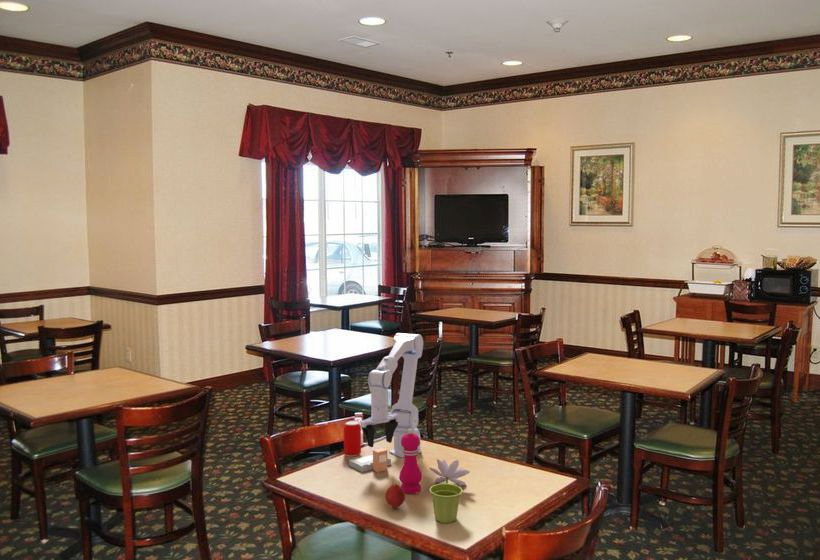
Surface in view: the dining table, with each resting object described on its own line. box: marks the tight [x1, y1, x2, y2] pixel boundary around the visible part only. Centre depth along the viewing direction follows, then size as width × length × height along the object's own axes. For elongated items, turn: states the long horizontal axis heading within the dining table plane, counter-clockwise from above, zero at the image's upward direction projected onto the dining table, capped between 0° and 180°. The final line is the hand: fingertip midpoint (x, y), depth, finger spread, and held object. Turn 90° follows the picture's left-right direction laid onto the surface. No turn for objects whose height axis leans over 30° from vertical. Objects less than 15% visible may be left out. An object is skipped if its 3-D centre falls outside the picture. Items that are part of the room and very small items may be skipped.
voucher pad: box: [349, 453, 392, 473], centre depth 243 cm, size 12×8×2 cm, turn 128°
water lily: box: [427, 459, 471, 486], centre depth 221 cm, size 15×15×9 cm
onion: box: [384, 482, 406, 510], centre depth 206 cm, size 6×6×8 cm
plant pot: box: [429, 483, 463, 524], centre depth 198 cm, size 9×9×9 cm
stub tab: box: [372, 447, 389, 473], centre depth 238 cm, size 4×3×7 cm
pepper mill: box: [398, 429, 423, 495], centre depth 219 cm, size 7×7×20 cm
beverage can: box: [343, 420, 362, 458], centre depth 254 cm, size 6×6×12 cm
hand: (379, 444), depth 238 cm, fingers open, 7 cm apart
